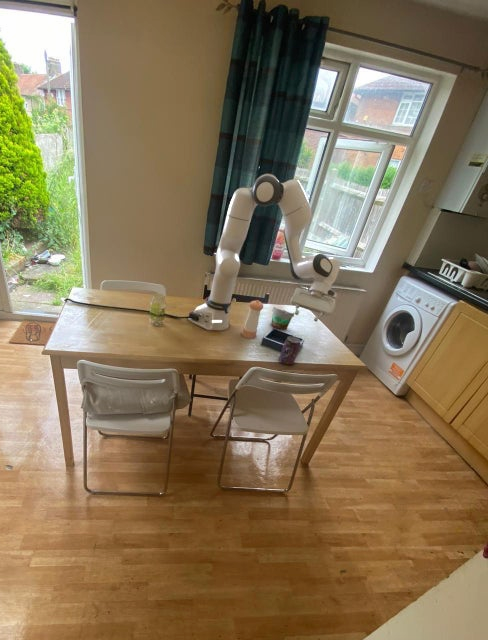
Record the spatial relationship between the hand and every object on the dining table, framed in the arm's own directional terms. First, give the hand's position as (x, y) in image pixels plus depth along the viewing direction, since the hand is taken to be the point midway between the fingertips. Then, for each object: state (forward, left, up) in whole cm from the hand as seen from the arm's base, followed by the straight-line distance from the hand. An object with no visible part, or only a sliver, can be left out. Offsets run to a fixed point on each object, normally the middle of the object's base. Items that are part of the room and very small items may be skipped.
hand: (305, 317), depth 156 cm
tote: (-7, +1, -18) cm, 20 cm away
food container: (-16, +20, -19) cm, 32 cm away
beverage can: (0, -13, -19) cm, 22 cm away
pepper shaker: (-25, -1, -19) cm, 31 cm away
